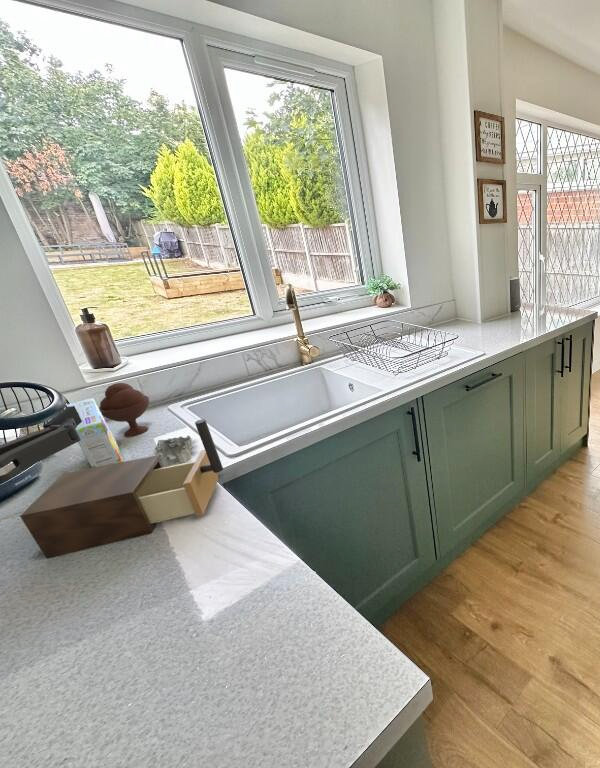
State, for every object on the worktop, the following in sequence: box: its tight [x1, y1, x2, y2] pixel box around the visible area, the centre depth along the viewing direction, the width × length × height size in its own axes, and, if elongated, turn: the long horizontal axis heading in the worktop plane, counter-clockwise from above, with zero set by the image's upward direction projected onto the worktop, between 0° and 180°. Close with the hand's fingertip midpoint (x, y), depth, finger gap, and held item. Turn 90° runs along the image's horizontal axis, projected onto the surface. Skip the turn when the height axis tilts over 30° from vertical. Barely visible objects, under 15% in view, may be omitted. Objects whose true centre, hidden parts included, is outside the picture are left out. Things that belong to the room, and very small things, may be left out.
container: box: [136, 418, 224, 524], centre depth 85 cm, size 20×14×18 cm
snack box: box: [67, 397, 124, 468], centre depth 102 cm, size 21×6×15 cm, turn 47°
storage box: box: [19, 455, 164, 559], centre depth 83 cm, size 16×14×10 cm
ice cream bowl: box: [98, 382, 150, 438], centre depth 118 cm, size 11×11×15 cm
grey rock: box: [151, 435, 194, 467], centre depth 107 cm, size 11×8×4 cm
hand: (15, 423), depth 61 cm, fingers open, 13 cm apart
